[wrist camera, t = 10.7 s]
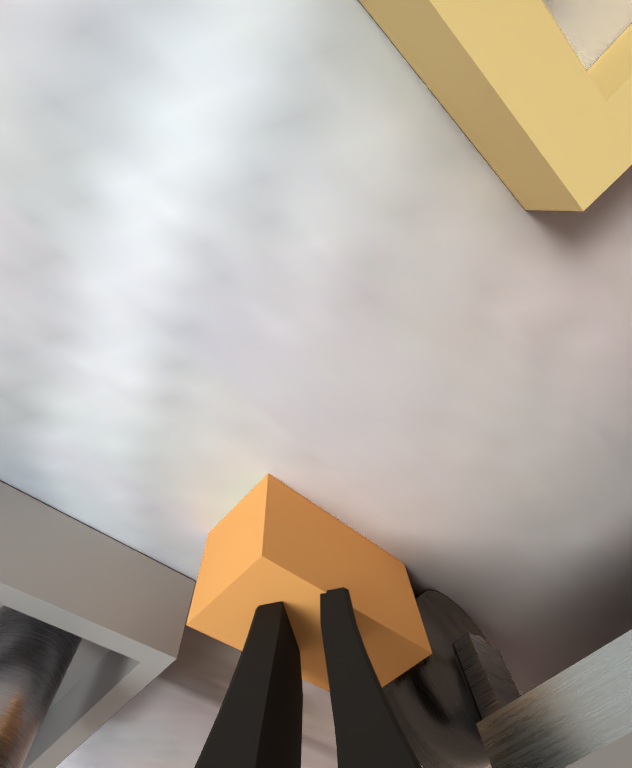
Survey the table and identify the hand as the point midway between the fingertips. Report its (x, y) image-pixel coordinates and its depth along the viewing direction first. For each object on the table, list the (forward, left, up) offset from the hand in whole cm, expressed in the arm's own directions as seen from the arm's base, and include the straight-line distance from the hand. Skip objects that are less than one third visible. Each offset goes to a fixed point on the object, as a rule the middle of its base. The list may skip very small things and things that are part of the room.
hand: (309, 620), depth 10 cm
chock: (+1, 0, -4) cm, 4 cm away
